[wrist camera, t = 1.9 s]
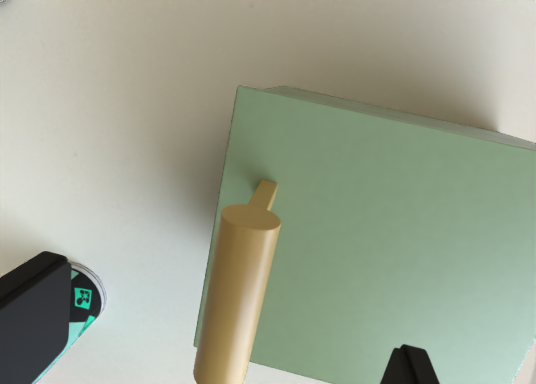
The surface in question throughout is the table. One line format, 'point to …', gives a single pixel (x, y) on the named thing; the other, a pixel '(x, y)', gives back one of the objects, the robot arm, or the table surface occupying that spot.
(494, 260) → the lid
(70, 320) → the spray can
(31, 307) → the robot arm
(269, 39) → the table surface
